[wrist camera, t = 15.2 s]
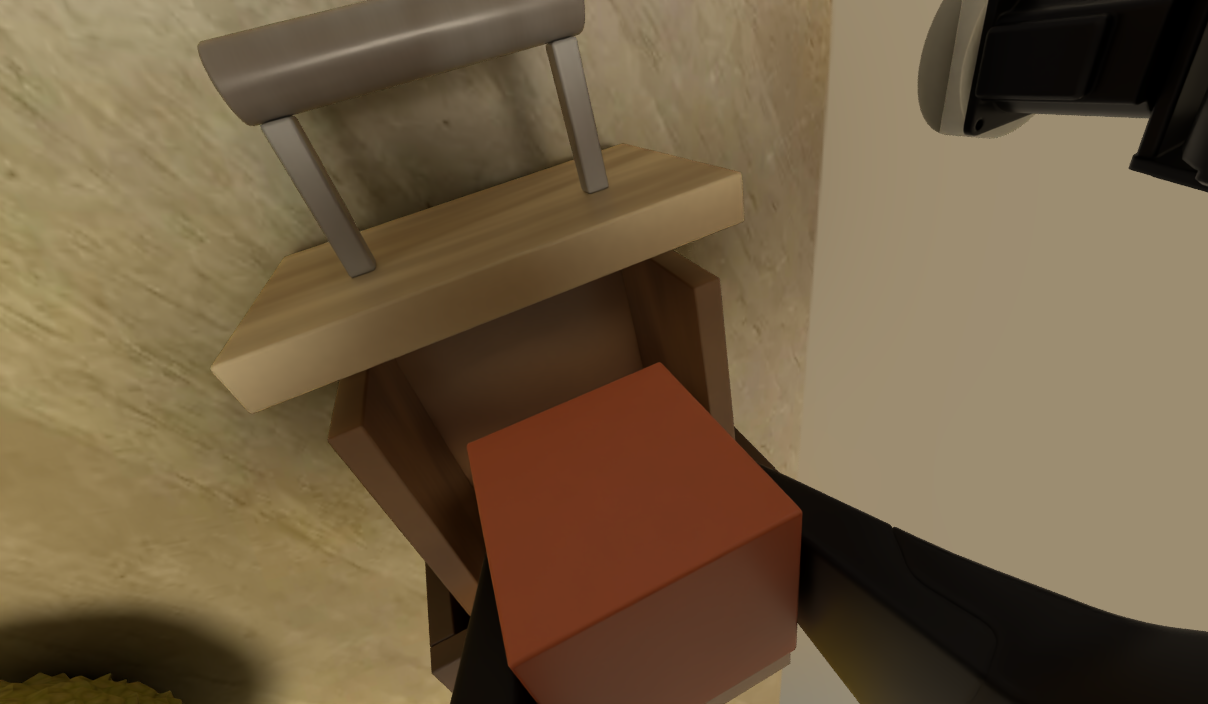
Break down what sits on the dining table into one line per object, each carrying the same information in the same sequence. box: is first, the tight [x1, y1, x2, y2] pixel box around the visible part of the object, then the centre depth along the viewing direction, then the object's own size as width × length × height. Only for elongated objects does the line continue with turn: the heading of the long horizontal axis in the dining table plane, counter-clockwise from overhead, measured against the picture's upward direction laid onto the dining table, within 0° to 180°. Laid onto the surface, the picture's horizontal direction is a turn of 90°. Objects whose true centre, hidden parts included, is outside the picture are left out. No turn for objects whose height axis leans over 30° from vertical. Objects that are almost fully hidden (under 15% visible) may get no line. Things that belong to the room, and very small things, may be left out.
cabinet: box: [425, 427, 790, 704], centre depth 22 cm, size 15×13×9 cm
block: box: [467, 362, 802, 704], centre depth 8 cm, size 4×4×4 cm
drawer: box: [198, 0, 744, 616], centre depth 15 cm, size 18×11×7 cm, turn 14°
